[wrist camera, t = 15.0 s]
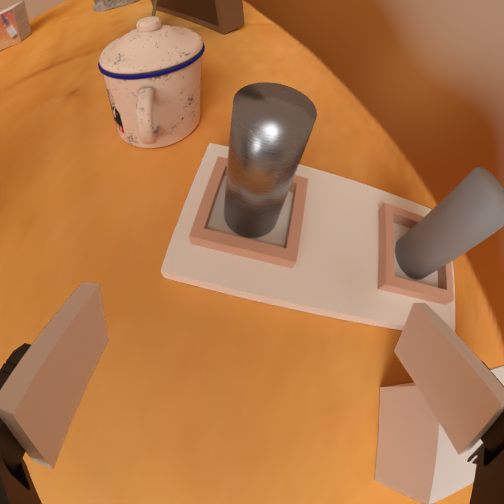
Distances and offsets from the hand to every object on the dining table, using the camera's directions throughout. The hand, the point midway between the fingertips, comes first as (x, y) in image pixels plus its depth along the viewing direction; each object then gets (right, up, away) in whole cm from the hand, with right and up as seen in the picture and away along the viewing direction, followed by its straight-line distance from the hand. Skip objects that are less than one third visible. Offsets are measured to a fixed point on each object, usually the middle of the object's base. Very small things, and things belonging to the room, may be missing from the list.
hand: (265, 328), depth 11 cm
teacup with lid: (-10, +15, +15) cm, 23 cm away
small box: (-56, +53, +25) cm, 81 cm away
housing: (+13, -11, +7) cm, 18 cm away
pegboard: (+6, +4, +12) cm, 14 cm away
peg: (-1, +6, +11) cm, 12 cm away
